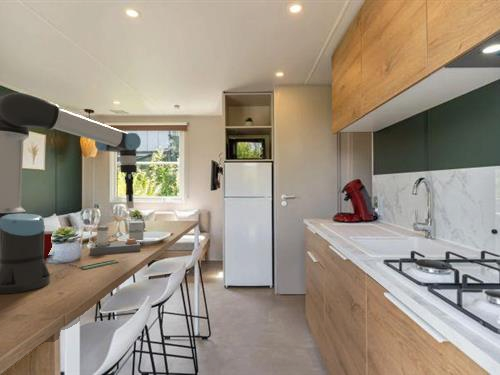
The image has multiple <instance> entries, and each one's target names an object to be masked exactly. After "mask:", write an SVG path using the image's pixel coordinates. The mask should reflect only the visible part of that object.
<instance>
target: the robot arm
mask: <svg viewBox="0 0 500 375" xmlns="http://www.w3.org/2000/svg"><path fill="white" fill-rule="evenodd" d="M30 128H39V129H45V130H47V131H51V130H58V131H61V132H64V133H68V134H71V135H75V136H78V137H81V138H85V139H88V140H91V141H94V145H95V149H97V150H98V151H99V152H100V151H101V152H108V153H109V152H111V153H112V152H113V153H119V163H120V172H121V173H122V174H123V173H125V176H124V180H125V197H126V198H125V200H126V206H127V209H134V185H133V184H134V176H133V174H132V173H137V171H138V168H137V167H138V166H137V165H136V164H137V160H138V157H137V149H139V148H140V146H141V143H142V142H141V137H140V135H138V133H135V132H133V131H132V132H126V131H123V130H120V129H117V128H115V127H111V126H109V125H107V124H103V123H100V122H98V121H94V120H92V119H89V118H86V117H84V116H82V115H79V114H75V113H73V112H70V111H67V110H65V109H62V108H60V107H59V105H58V104H56V103H54V102H51V101H48V100H46V99H43V98H40V97H37V96H33V95H32V94H28V93H23V92H11V93H8V94H5V95H2V96H0V294H3V295H4V294H15V293H16V294H17V293H18V294H19V293H22V292H29V291H33V290H37V289H40V288H42V287H45V286H47V285H49V284H50V283H51V274H50V271H49V269H48V267H47V264H46V261H45V259H44V231H45V228H46V227H45V220H44V218H43V216H41V215H40V214H34V213H27V210H25V209H24V208H23V207H22V205H21V204H22V187H23V186H22V183H23V182H22V179H23V156H24V155H23V154H24V141H25V140H27V139H28V138H29V137H30V136H29V135H30V133H29V132H30Z"/></svg>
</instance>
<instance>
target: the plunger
mask: <svg viewBox="0 0 500 375" xmlns="http://www.w3.org/2000/svg"><path fill="white" fill-rule="evenodd" d="M126 241H127V244H136V239H129V238H127V240H126Z"/></svg>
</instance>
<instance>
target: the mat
mask: <svg viewBox="0 0 500 375" xmlns="http://www.w3.org/2000/svg"><path fill="white" fill-rule="evenodd" d="M117 263H119V261H118V260H116V259H112V260H108V261H102V262H97V263H93V264H88V265H83V266H76V265H73V264H71V263H69V265H70V266H72V267H75V268H79V269H80V270H83V271H84V270H89V269H94V268H98V267H104V266H109V265H113V264H117Z"/></svg>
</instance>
